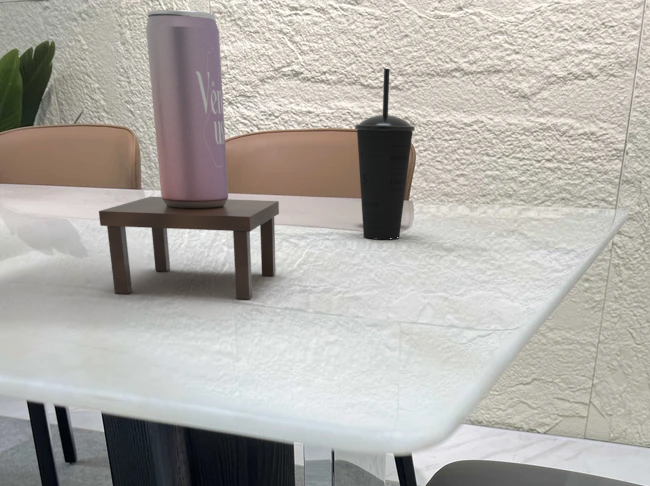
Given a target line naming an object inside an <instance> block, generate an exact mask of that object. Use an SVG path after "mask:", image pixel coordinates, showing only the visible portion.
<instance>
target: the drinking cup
mask: <svg viewBox="0 0 650 486" xmlns="http://www.w3.org/2000/svg"><path fill="white" fill-rule="evenodd" d="M382 92H383V93H382V94H383V95H382V114H379V115H373V116H370V117H368V118H366V119H364V120H362V121H360V123H358V124H357V123H356V124H355V125H354V129H355V130H356V137H357V151H358V166H359V185H360V186H359V187H360V199H361V202H360V203H361V215H362V232H363V237H364V236H365V237H368V238H367V239H369V238H377V239H376V240H378V239H390V238H397V237H399V238H400V234H401V227H402V219H403V212H404V211H403V210H404V203H405V197H406V194H405V193H406V187H407V179H408V172H409V164H410V155H411V149H412V139H413V132H415V130H416V127H415V125H411V124H410V123H409V122H407V120H405V119H403V118H401V117H398V116H395V115H390V114H389V98H390V97H389V96H390V68H383V91H382ZM365 237H364V238H365Z"/></svg>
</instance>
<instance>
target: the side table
mask: <svg viewBox="0 0 650 486" xmlns="http://www.w3.org/2000/svg"><path fill="white" fill-rule="evenodd" d="M279 214H280V201H279V200H260V199H259V200H255V199H251V200H250V199H231V198H230V199H229V198H228V199H227V201H226V203H225V205H224V206H222V207H216V208H200V209H190V208H174V207H169V206H167V205H166V204H165V202H164V201H163V199H162V197H161V196H147V197H143V198H141V199H137V200H134V201H130V202H125V203H122V204H119V205H115V206H111V207H109V208H104V209H101V210H98V217H99V225H100V226H101V227H106V231H107V238H108V244H109V255H110V264H111V272H112V280H113V281H112V282H113V289H114V290H113V291H114V294H116V295H128V294H130V293H132V292H133V286H132V278H131V276H132V275H131V268H130V260H129V259H130V258H129V247H128V240H127V232H126V231H127V229H126V228H127V227H128V228H147V229H151V237H152V248H153V258H154V259H153V260H154V270H155V272H168V271H170V270H171V263H170V262H171V261H170V251H169V250H170V249H169V239H168V238H169V237H168V229H169V230H170V229H171V230H172V229H173V230H174V229H176V230H196V231H222V232H225V231H226V232H232V236H233V237H232V238H233V259H234V278H235V279H234V280H235V298H236V299H237V300H250V299H251V298H252V297H253V282H252V281H253V280H252V258H251V257H252V253H251V232H252V231H254V230H255V229H257V228H258V227H259V230H260V231H259V232H260V257H261V259H260V262H261V265H260V266H261V276H263V277H274V276H275V275H276V274H277V272H276V233H275V232H276V231H275V229H276V228H275V217H276V216H278V215H279Z"/></svg>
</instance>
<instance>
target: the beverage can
mask: <svg viewBox="0 0 650 486" xmlns="http://www.w3.org/2000/svg"><path fill="white" fill-rule="evenodd" d="M146 16H147V21H146V26H145V33H146V44H147V45H146V46H147V54H148V66H149V76H150V77H149V78H150V89H151V99H152V108H153V109H152V110H153V119H154V120H153V122H154V130H155V131H154V132H155V143H156V153H157V163H158V174H159V185H160V195H161V196H160V197H162V199H163V201H164V202H165V204H166V205H167V206H169V207H174V208H190V209H200V208H216V207H222V206H224V205H225V203H226V201H227V199H229V183H228V167H227V149H226V134H225V133H226V132H225V115H224V94H223V79H222V78H223V76H222V61H221V43H220V42H221V41H220V40H221V39H220V30H219V28H218V27H219V26H218V24H217V22H216V19H217V15H216V14H214V13H210V12H205V11H197V10H183V9H156V10H149V11H147V13H146Z"/></svg>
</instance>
